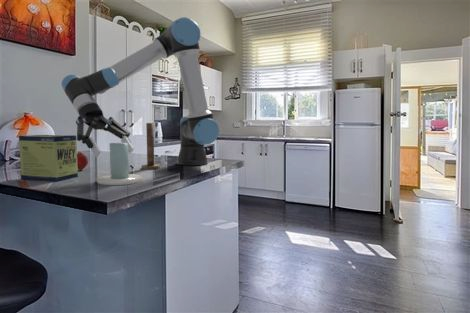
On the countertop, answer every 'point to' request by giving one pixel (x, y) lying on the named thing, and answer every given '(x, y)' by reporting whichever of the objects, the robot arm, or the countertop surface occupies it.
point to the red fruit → (81, 161)
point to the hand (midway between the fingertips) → (116, 152)
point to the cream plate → (119, 180)
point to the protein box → (48, 157)
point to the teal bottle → (119, 160)
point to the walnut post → (150, 148)
